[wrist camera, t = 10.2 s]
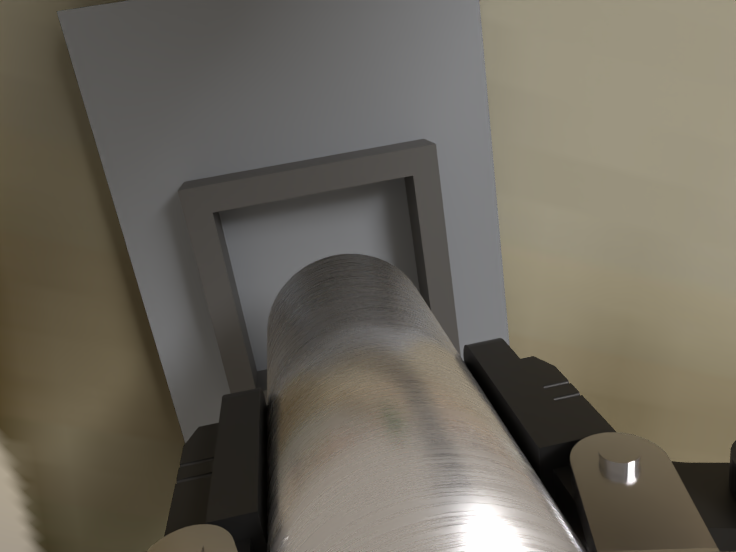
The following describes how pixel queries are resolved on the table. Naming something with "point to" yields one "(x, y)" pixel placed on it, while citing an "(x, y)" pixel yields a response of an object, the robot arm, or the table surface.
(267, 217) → the grey flat base
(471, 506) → the translucent white cylinder
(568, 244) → the table surface
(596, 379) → the table surface
